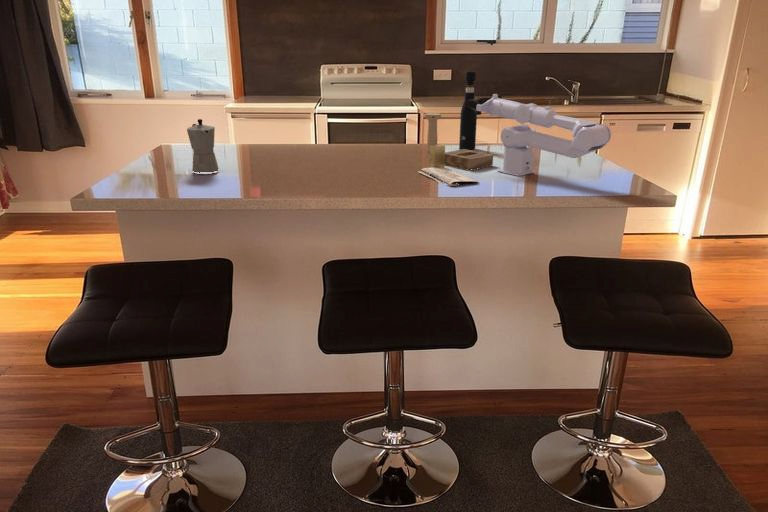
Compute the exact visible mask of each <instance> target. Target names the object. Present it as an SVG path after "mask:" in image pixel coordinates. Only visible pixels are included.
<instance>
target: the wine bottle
mask: <svg viewBox="0 0 768 512" xmlns="http://www.w3.org/2000/svg"><path fill="white" fill-rule="evenodd" d="M476 77H477V73H476V71H465V78H464V79H465V82H466V87H465V92H464V100H463V103H462V106H461V111H460V118H459V119H460V120H459V123H460V125H459V146H458V150H461V149H467V150H472V151H476V140H477V139H476V137H477V121H478V120H477V118H478V115H477V114H476V113H475V112H474V111H473V110H472V109H471V108H469V107H467V106H466V104H467V100H475V88H474V86H475V85H474V83H475V81H476Z"/></svg>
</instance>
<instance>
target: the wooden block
mask: <svg viewBox="0 0 768 512" xmlns="http://www.w3.org/2000/svg"><path fill="white" fill-rule="evenodd" d="M445 152H446V145H444V144H437V145H434V146H430V153H429V158H428V159H429V163H428V164H429V166H428V168H433V167H436V168H445V166H446V165H445Z"/></svg>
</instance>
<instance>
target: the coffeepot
mask: <svg viewBox="0 0 768 512" xmlns="http://www.w3.org/2000/svg"><path fill="white" fill-rule="evenodd" d="M197 123H198V124H197ZM197 123H193V124H192V125H191V126H189V127H187V128H186V132H187V135H188V139H189V143H190V146H191V149H192V151H193V155H192V171H194V172H199V173H200V172H214V171H218V169H219V170H220V167H219V165H218V161H217V160H218V159H217V158H216V153H215V151H214V147H215V126H212V125H207V124H203V119H201V118H199V119H197Z"/></svg>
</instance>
